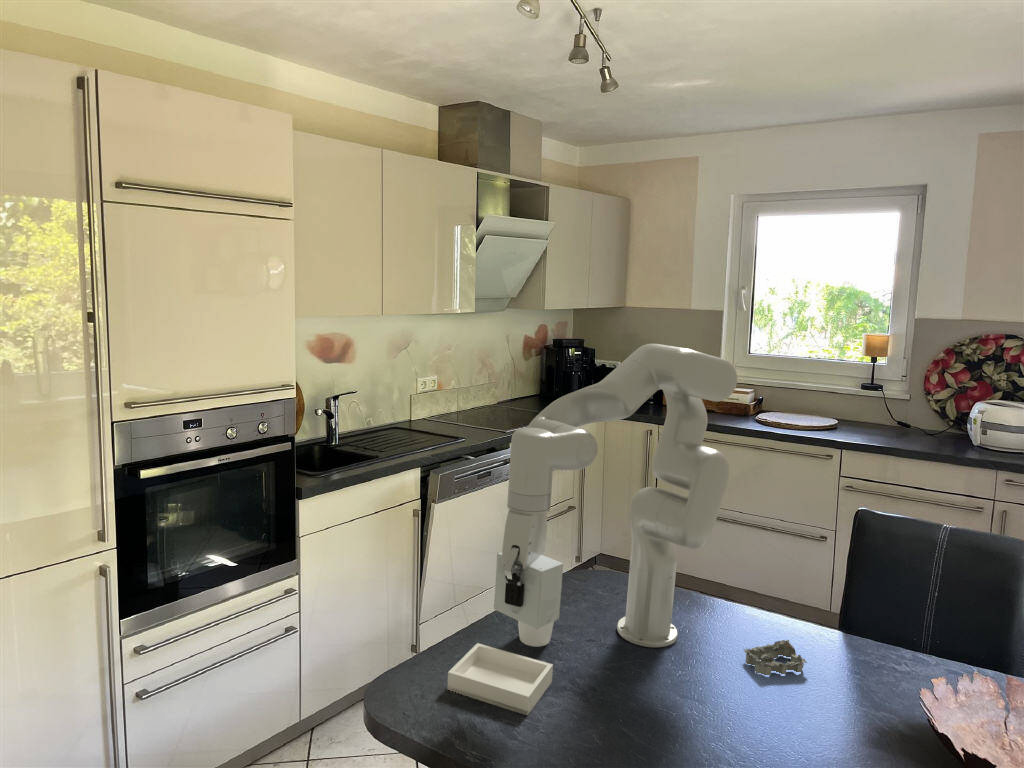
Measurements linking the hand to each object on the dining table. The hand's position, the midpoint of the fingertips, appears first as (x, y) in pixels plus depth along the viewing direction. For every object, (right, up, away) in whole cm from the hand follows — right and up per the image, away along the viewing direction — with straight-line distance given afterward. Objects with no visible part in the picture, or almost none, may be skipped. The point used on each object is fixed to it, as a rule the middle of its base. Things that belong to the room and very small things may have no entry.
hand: (522, 594), depth 130 cm
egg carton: (+50, -19, +15) cm, 56 cm away
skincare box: (+1, -4, 0) cm, 4 cm away
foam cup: (+3, -15, +21) cm, 26 cm away
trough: (-4, -18, +4) cm, 18 cm away
